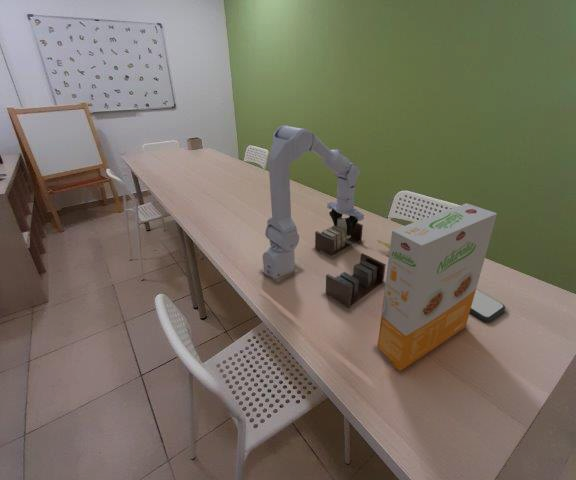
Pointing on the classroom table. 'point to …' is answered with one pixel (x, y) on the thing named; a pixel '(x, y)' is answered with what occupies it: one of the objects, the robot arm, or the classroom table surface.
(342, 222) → the white book
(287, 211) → the robot arm
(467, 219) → the cereal box
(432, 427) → the classroom table surface
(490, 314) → the phone case
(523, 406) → the classroom table surface
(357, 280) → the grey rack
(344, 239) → the dark brown rack
